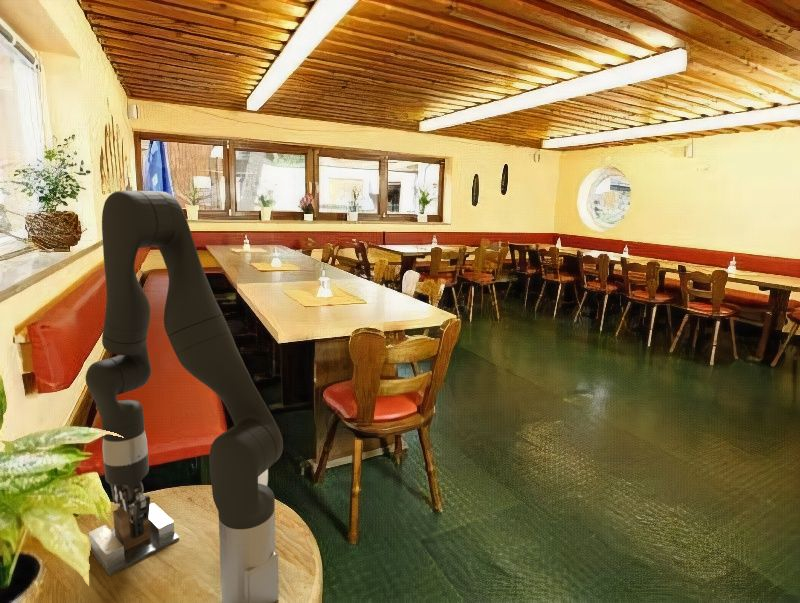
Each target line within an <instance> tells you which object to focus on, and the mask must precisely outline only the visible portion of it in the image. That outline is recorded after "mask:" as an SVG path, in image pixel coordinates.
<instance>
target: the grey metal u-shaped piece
mask: <svg viewBox="0 0 800 603" xmlns="http://www.w3.org/2000/svg"><path fill="white" fill-rule="evenodd" d="M174 524H175V523H174V520H173V519H172V518H171V517H170V516H168V515H167V513H165V512H164V510H162V509H161V508H160V507H159V505H157V504H156V503H155V502H152V503H150V507H149V529H150V538H149V539H147V540H145V541H143V542H141V543H139V544H137V545H135V546H133V547H131V548H129V549H127V550H125V551H124V546H123V545H122V544H121V543H120V541H119V540H118V539H117V538H116V537H115V529H109V527H108V526H107V525H106V524H104V525H102V526H99V527H97V528H95V529H93V530H91V531H89V532H88V539H89V538H90V541H91V550H90V552H91V553H92V554H93V556H94V557H95V559H96V560H97V561H98V563H99V564H100V565H101V566H102V568H103V569H104V571H105V572H106V573H107V574H108V576H109V577H111V576H113V575H114V574H116V573H118V572H120V571H122V570H124V569H126V568H127V567H129V566H132V565H133V564H135V563H137V562H139V561H141V560H143V559H145V558H147V557H149V556H151V555H152V554H154V553H157V552H158V551H160V550H162V549H165V547H168V546H170V545H171V544H173V543H175V542H177V541H179V540H180V538H179V536H178V535H177V533H176V532H175V525H174Z"/></svg>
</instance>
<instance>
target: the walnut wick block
mask: <svg viewBox="0 0 800 603" xmlns="http://www.w3.org/2000/svg"><path fill="white" fill-rule="evenodd" d="M133 504H134V503H133ZM133 504H130V505H129V507H130V506H132V505H133ZM112 516H113V528H114V529H115V537H116V538H117V539H118V540H119V541H120V543H121V544H122V545H123V546H124V551H125V550H127V549H129V548H131V547H133V546H135V545H137V544H139V543H141V542H143V541H145V540H147V539H149V538H150V529H149V518H148V519H147V520H145V521H143V525H144V534H143V535H141V536H139V537H137V538H135V539H133V538H132V537H131V531H130V522H129V516H128V513H127V512H125V511H124V506H123V507H121V508H119V509H117V508H116V509H115V510H113V511H112ZM114 529H113V530H114Z"/></svg>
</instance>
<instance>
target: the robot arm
mask: <svg viewBox="0 0 800 603" xmlns="http://www.w3.org/2000/svg"><path fill="white" fill-rule="evenodd" d="M101 234H102V235H101V236H102V250H103V251H102V252H103V262H104V264H103V266H104V277H105V286H106V300H105V301H106V302H105V304H106V305H105V313H104V321H103V328H102V335H101V342H102V347H103V349H104V350H106V351H107V352H109V353H110V354H113V355H116V356H113V357H109V358H105V359H101V360H97V361H95V362H94V363H92V364H91V365H90V366H88V368H87V371H86V372H85V373H86V374H85V384H86V387H87V389H88V391H89V393H90V395H91V396H92V399H93V401H94V404H95V406H96V408H97V411H98V413H99V417H100V421H101V431H102V430H106V431H110V432H114V433H117V434H119V435H121V436H123V437H124V438H122V437H118V436H113V435H105V436H103V435H102V446H101V447H102V448H101V449H102V458H103V460H102V461H103V468H104V479H105V482H106V483H108V484H109V486H110V490H111V491H110V492H111V496H112V502H113V503H114V505H116V510H117V509H119V508H121V507H123V506H124V511H125V512H127V513H128V516H129V522H130V531H131V537H132V538H133V539H135V538H137V537H139V536H141V535H143V534H144V525H143V521H145V520H147V519H148V518H149V507H150V504H151V497H150V495H148V494H147V495H146V496H144V490H145V489H144V484H143V482H142V480H143V479H144V478H145V477H146V476H147V475H148V473H149V470H150V464H149V450H148V449H149V448H148V439H147V435H146V431H145V430H146V429H145V418H144V415H145V414H144V407H143V405H142V404H141V402H140V401H138V400H134V399H124V400H123V399H122V400H118V398H117V396H118V395H119V396H120V395H122V394H124V393H128V392H130V391H134V390H137V389H140V388H142V387H144V386H145V385H146V384H147V383H148V381H149V380H150V378H151V376H152V366H151V362H150V356H149V351H148V350H149V348H148V344H147V339H148V338H147V337H148V333H149V326H150V321H151V305H150V301H149V299H148V296H147V295H146V293H145V291H144V289H143V286H142V285H141V283H140V281H139V280H138V277H137V275H136V274H137V273H136V269H135V265H136V259H137V255H138V251H139V249H143V248H154V247H157V248H158V250H159V252H160V254H161V256H162V258H163V262H164V264H165V267H166V271H167V276H168V287H167V292H166V293H167V294H166V297H165V299H166V300H165V305H164V313H163V326H164V330H165V333H166V335H167V337H168V340H169V342H170V345H171V346H172V347H171V348H172V350H173V351H174V354H175V356H176V358H177V359H178V361H179V363H180V365H181V366H182V367H183V368H184V370H186V371H187V372H188V373H189V374H190V375H191V376H193V377H194V378H195V379H197V380H198V381H199V382H201V383H202V384H204V385H205V386H206V387H208V388H209V389H210V390H211V391H213V392H214V393H215V394H216V395H217V396H218V397H219V398H220V400H221V401H222V402H223V405H225V407H226V409H227V411H228V413H229V416H230V417H231V420H232V423H233V426H232V427H230V428H229V429H227V430H226V431H224V432H222V433H221V434H219V435H218V436H217V437H216V438H214V440H213V441H212V442H211V446H210V448H209V456H208V459H209V460H208V463H209V464H208V465H209V472H210V473H209V474H210V483H211V494H212V498H213V502H214V503H213V504H214V505H215V507H216V510H217V513H218V530H219V531H218V532H219V533H218V534H219V535H218V536H219V561H220V564H219V565H220V585H221V590H220V591H221V603H276V602H277V601H278V600H279V597H280V596H279V554H278V553H277V552H276V516H275V515H276V511H275V510H276V508H275V507H276V503H275V502H276V500H275V493H274V492H273V490H272V489H271V488H270V487H269V486H268V485H267V486H266V485H263V484H259V483H258V476H260V475H261V474H262V473H263V472H265V471H266V470H267V469H268V470H269V468H271V466H273V465H274V464H275V463H276V462H278V460H279V459H280V458H281V456H282V454H283V450H284V441H283V440H284V439H283V436H282V433H281V431H280V428H279V426H278V424H277V422H276V419H275V418H274V416H273V415H272V413H271V411H270V410H269V408H268V406H267V405H266V402H265V401H264V399H263V397H262V395H261V394H260V392H259V391H258V389H257V387H256V385H255V382H254V381H253V379H252V377H251V375H250V373H249V370H248V369H247V367H246V365H245V362H244V360H243V358H242V356H241V353H240V351H239V349H238V347H237V345H236V342H235V338H234V337H233V334H232V332H231V330H230V327H229V325H228V322H227V321H226V318H225V315H224V314H223V311H222V309H221V308H220V305H219V304H218V301H217V299H216V297H215V295H214V293H213V290H212V288H211V285H210V282H209V280H208V276H206V272H205V270H204V267H203V264H202V262H201V259H200V256H199V253H198V250H197V247H196V244H195V241H194V237H193V234H192V231H191V229H190V225H189V222H188V219H187V217H186V214H185V213H184V210H183V207H182V206H181V204H180V202H178V200H177V199H176V198H175V197H174V196H173V195H172V194H170V193H169V192H166V191H161V190H119V191H115V192H112V193H111V194H109V196H107V198H106V199H105V201H104V203H103V208H102V213H101ZM133 503H134V504H133ZM130 504H133V505H132V506H130V507H129V505H130Z"/></svg>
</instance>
